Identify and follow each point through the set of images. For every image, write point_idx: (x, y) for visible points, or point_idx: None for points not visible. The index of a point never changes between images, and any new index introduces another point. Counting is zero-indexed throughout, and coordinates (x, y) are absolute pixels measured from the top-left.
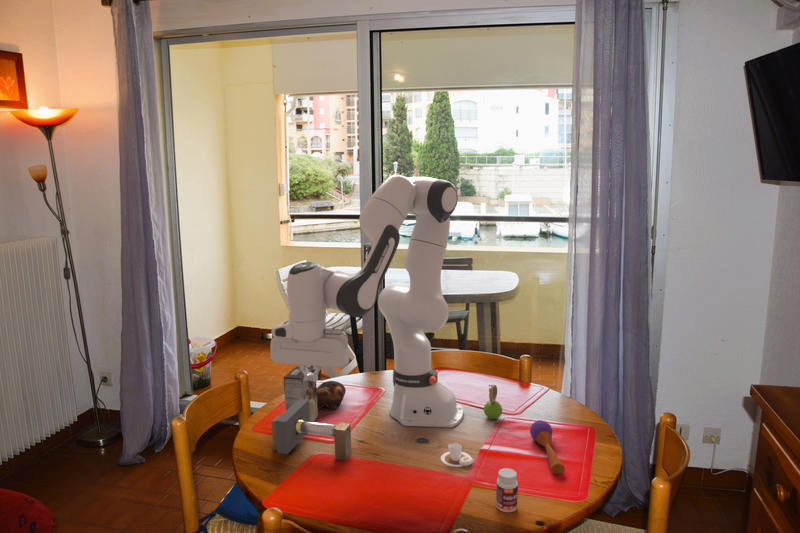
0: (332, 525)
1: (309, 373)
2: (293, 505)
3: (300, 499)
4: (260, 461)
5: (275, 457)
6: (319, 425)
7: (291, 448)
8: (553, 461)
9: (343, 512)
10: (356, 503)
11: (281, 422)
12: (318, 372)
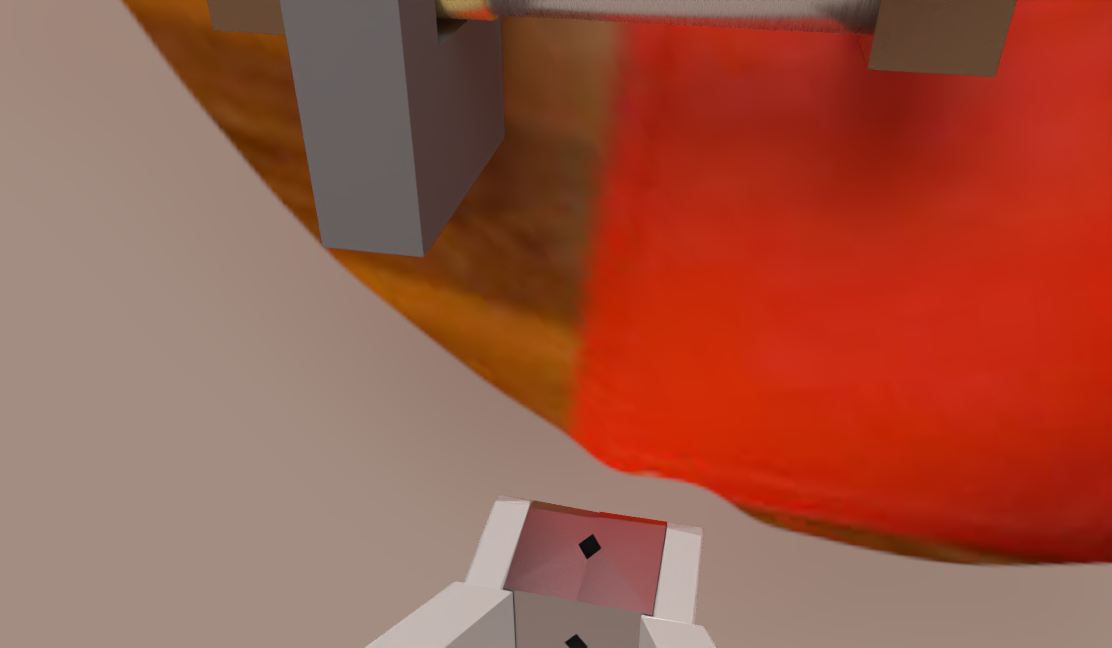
0: (962, 562)
1: (536, 628)
2: (730, 461)
3: (748, 421)
4: None
5: None
6: (684, 4)
7: (500, 77)
8: None
9: (1005, 489)
10: (1074, 426)
11: (386, 249)
12: (713, 646)
